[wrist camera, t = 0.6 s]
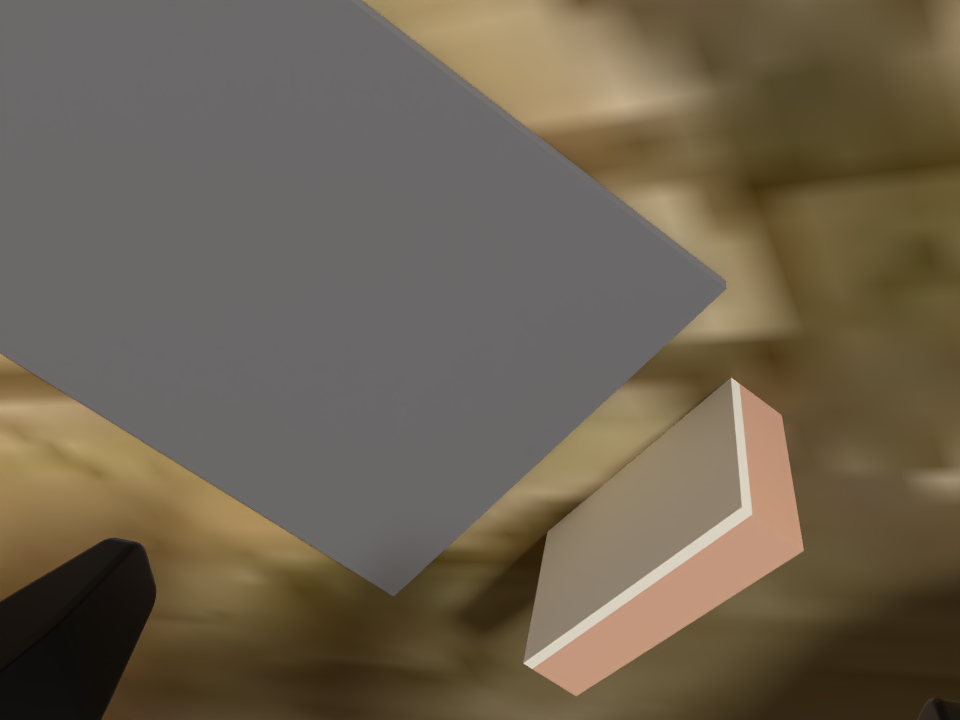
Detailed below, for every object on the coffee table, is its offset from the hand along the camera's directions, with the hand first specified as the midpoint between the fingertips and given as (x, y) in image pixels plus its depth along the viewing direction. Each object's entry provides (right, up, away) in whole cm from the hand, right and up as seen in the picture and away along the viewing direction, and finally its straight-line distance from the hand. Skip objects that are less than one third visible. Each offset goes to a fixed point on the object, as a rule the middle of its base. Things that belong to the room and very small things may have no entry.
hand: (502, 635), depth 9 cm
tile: (+5, 0, +15) cm, 15 cm away
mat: (-6, +5, +14) cm, 16 cm away
